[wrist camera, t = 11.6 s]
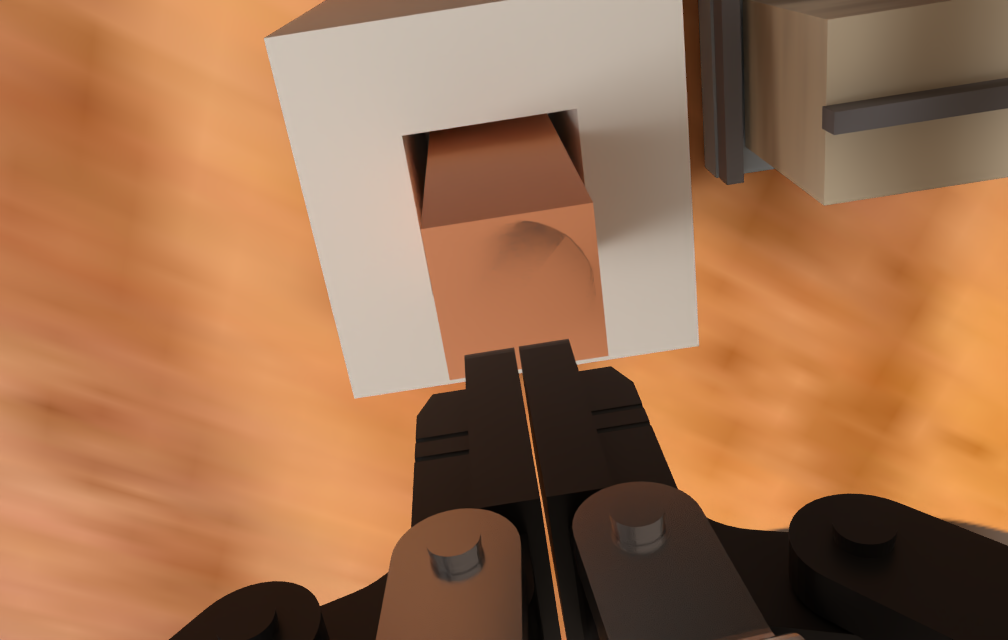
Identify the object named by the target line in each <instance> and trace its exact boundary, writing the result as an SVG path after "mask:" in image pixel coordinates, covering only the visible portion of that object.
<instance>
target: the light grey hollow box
mask: <svg viewBox="0 0 1008 640" xmlns="http://www.w3.org/2000/svg"><path fill="white" fill-rule="evenodd" d="M264 41H265V45H266V49H267V53H268V57H269V61H270V65H271V69H272V73H273V77H274V81H275V85H276V89H277V93H278V97H279V100H280V104H281V108H282V112H283V116H284V120H285V124H286V128H287V132H288V136H289V140H290V144H291V148H292V152H293V156H294V160H295V164H296V168H297V172H298V176H299V180H300V184H301V188H302V192H303V196H304V200H305V204H306V208H307V212H308V216H309V220H310V224H311V228H312V232H313V236H314V240H315V244H316V248H317V251H318V255H319V259H320V263H321V267H322V271H323V275H324V279H325V283H326V287H327V291H328V295H329V299H330V303H331V307H332V311H333V315H334V319H335V323H336V327H337V331H338V335H339V339H340V343H341V347H342V351H343V355H344V359H345V363H346V367H347V371H348V375H349V379H350V383H351V387H352V391H353V395H354V398H361V397H367V396H374V395H381V394H387V393H394V392H400V391H407V390H413V389H420V388H426V387H433V386H439V385H446V384H452V383H459V382H465V381H466V380H465V378H461V379H454V380H450V379H449V374H448V368H447V363H446V358H445V353H444V348H443V343H442V338H441V332H440V327H439V322H438V317H437V312H436V307H435V301H434V296H433V291H432V286H431V281H430V276H429V270H428V265H427V260H426V255H425V250H424V245H423V239H422V234H421V219H422V209H423V198H424V187H425V177H426V166H427V156H428V145H429V134H430V131H436V130H442V129H449V128H455V127H461V126H468V125H474V124H481V123H487V122H494V121H500V120H507V119H513V118H519V117H526V116H532V115H539V114H545V113H547V114H548V116H549V118H550V120H551V122H552V124H553V126H554V128H555V130H556V132H557V134H558V136H559V138H560V140H561V141H562V143H563V145H564V147H565V149H566V151H567V153H568V155H569V157H570V159H571V161H572V163H573V165H574V167H575V169H576V170H577V172H578V174H579V176H580V178H581V180H582V182H583V184H584V186H585V188H586V190H587V192H588V194H589V196H590V197H591V199H592V201H593V206H594V216H595V226H596V236H597V246H598V256H599V266H600V275H601V285H602V295H603V305H604V315H605V325H606V335H607V345H608V355H609V356H604V357H598V358H591V359H585V360H578V361H576V364H583V363H590V362H596V361H603V360H609V359H616V358H622V357H629V356H635V355H642V354H648V353H655V352H661V351H668V350H674V349H681V348H687V347H694V346H699V335H698V315H697V294H696V273H695V253H694V232H693V212H692V191H691V170H690V150H689V129H688V108H687V88H686V67H685V46H684V26H683V5H682V0H326V1H324V2H322V3H321V4H319V5H317V6H316V7H314V8H312V9H311V10H309V11H308V12H306V13H304V14H303V15H301V16H299V17H298V18H296V19H294V20H293V21H291V22H290V23H288V24H286V25H285V26H283V27H281V28H280V29H278V30H276V31H275V32H273V33H272V34H270V35H268V36H267V37H265V38H264ZM518 373H522V369H519V370H518Z"/></svg>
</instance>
